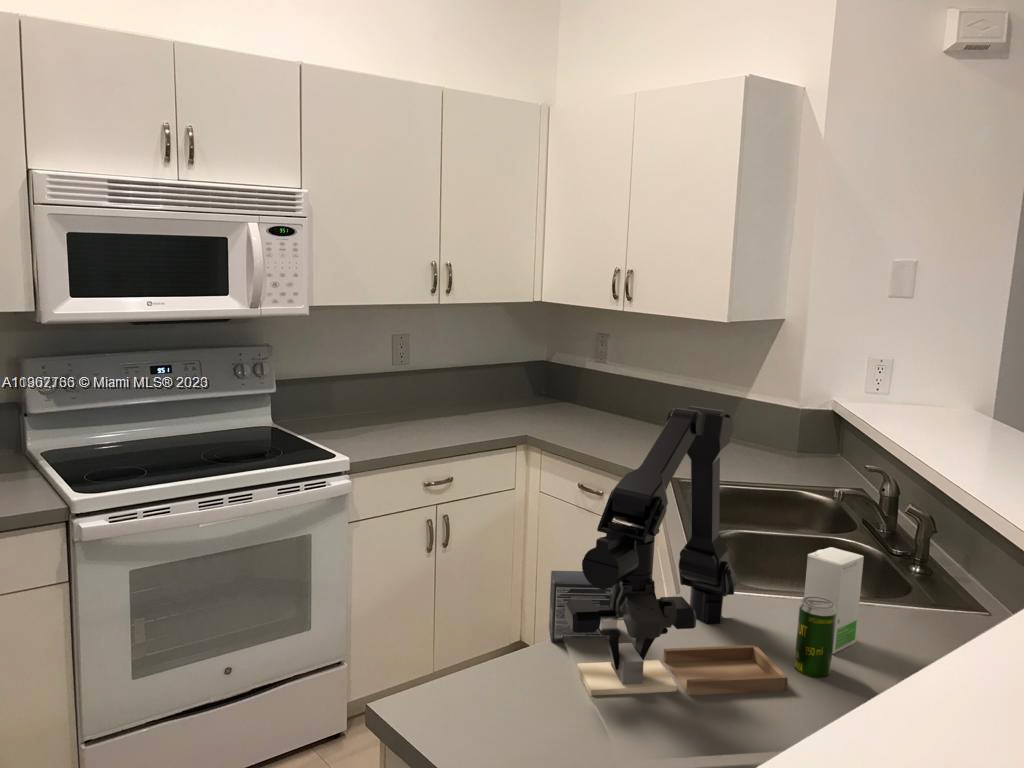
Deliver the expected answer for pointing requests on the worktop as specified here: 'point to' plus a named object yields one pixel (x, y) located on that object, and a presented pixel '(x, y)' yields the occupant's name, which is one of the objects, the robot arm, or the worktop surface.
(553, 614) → the small box
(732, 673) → the walnut tray
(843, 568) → the skincare box
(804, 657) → the beer can
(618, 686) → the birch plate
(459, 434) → the worktop surface
